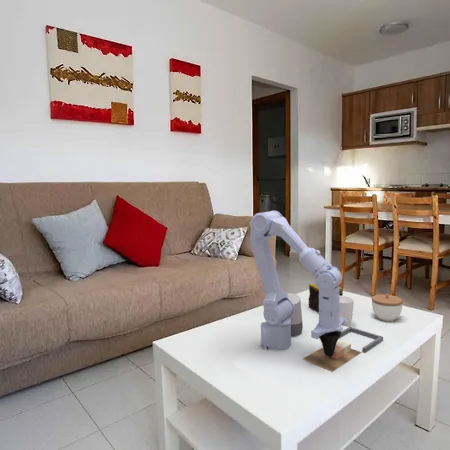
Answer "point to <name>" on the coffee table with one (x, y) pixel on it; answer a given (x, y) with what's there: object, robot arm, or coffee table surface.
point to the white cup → (346, 309)
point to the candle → (317, 296)
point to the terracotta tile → (338, 352)
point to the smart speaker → (296, 315)
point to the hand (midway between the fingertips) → (328, 354)
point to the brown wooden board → (330, 359)
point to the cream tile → (344, 345)
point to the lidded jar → (387, 307)
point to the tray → (377, 338)
